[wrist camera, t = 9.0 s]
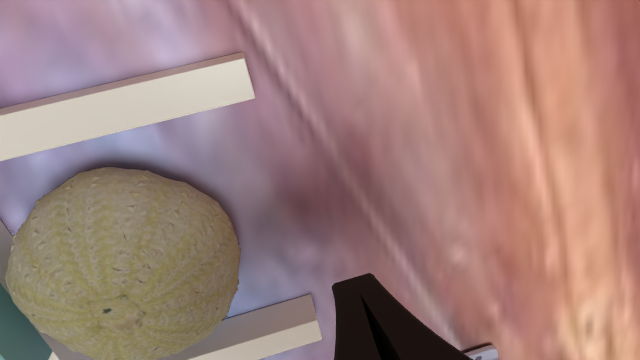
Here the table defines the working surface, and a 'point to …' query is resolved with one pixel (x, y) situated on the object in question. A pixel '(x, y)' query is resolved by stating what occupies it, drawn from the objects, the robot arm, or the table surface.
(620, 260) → the table surface
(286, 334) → the comb rack
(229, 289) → the sea urchin shell
